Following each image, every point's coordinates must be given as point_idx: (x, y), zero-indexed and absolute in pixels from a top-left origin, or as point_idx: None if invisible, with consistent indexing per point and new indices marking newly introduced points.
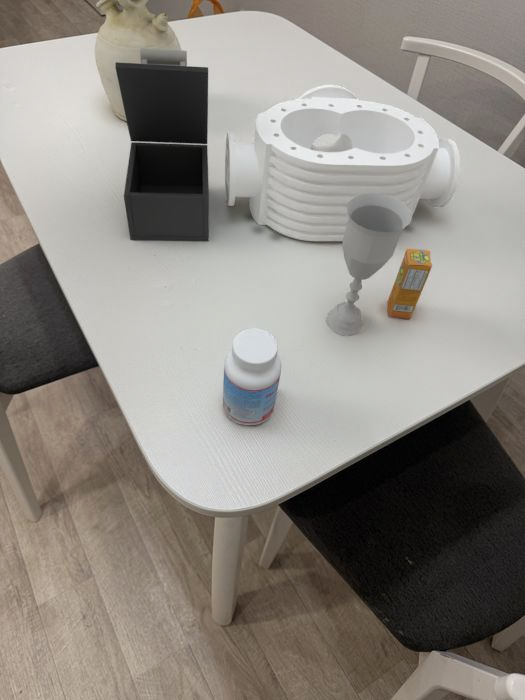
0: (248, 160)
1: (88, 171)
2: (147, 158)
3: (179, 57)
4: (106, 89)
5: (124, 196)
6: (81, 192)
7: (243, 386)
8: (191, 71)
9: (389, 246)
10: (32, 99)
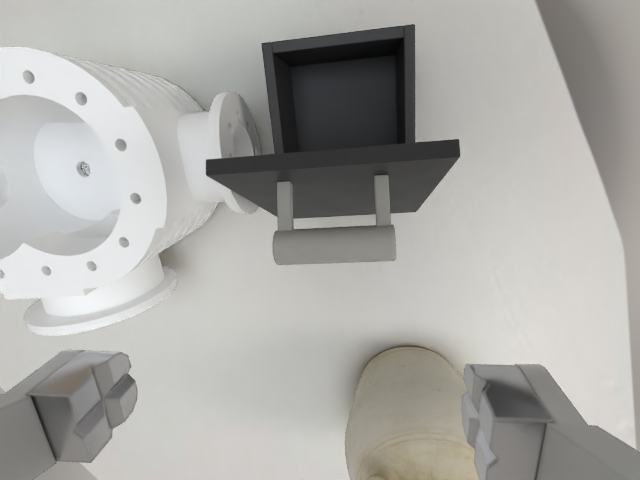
0: (193, 131)
1: (483, 220)
2: None
3: (290, 234)
4: None
5: (413, 24)
6: (491, 163)
7: None
8: (248, 156)
9: None
10: (588, 400)
